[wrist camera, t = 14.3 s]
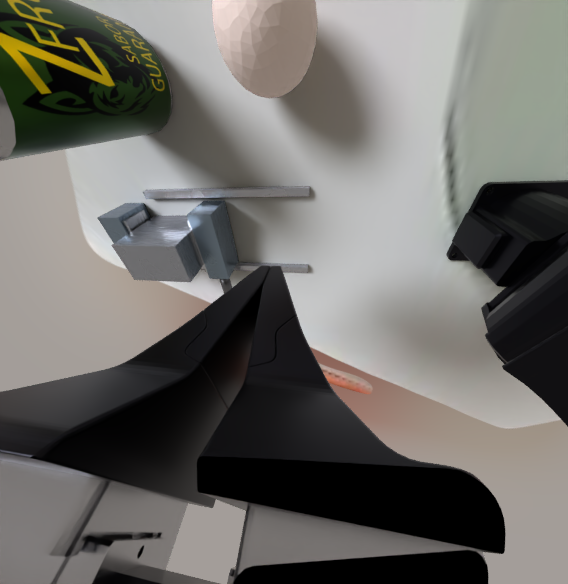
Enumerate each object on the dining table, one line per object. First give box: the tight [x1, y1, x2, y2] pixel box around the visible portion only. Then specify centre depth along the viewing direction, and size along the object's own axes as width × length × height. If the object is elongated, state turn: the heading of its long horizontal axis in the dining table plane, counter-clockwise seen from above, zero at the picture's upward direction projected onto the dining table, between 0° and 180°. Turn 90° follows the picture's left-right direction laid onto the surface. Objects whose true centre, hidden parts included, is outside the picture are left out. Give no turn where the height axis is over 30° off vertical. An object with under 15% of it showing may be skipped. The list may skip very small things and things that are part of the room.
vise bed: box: [98, 186, 310, 273], centre depth 20 cm, size 18×8×4 cm, turn 92°
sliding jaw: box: [187, 201, 239, 294], centre depth 21 cm, size 2×10×3 cm, turn 2°
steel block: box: [112, 216, 203, 282], centre depth 20 cm, size 4×6×6 cm, turn 92°
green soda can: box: [0, 0, 172, 161], centre depth 10 cm, size 5×5×12 cm
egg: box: [212, 0, 318, 98], centre depth 10 cm, size 5×5×7 cm
